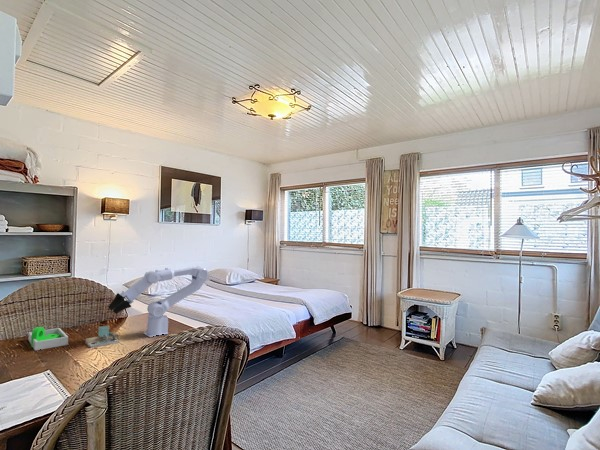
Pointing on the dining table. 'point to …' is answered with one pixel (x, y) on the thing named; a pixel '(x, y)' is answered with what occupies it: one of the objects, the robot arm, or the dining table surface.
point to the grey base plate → (101, 338)
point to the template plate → (102, 342)
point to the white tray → (50, 340)
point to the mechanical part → (42, 335)
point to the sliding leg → (103, 332)
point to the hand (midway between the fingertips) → (111, 310)
